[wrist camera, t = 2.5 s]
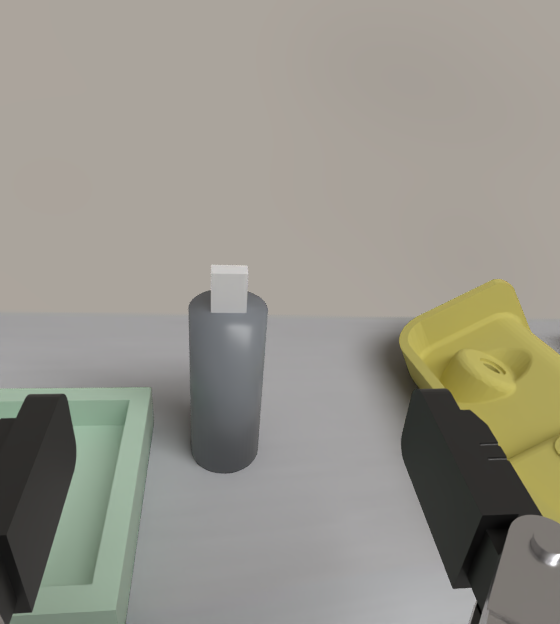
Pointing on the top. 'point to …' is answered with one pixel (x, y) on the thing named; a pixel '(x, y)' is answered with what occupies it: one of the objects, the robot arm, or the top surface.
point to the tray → (95, 505)
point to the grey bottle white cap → (226, 370)
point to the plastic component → (495, 379)
